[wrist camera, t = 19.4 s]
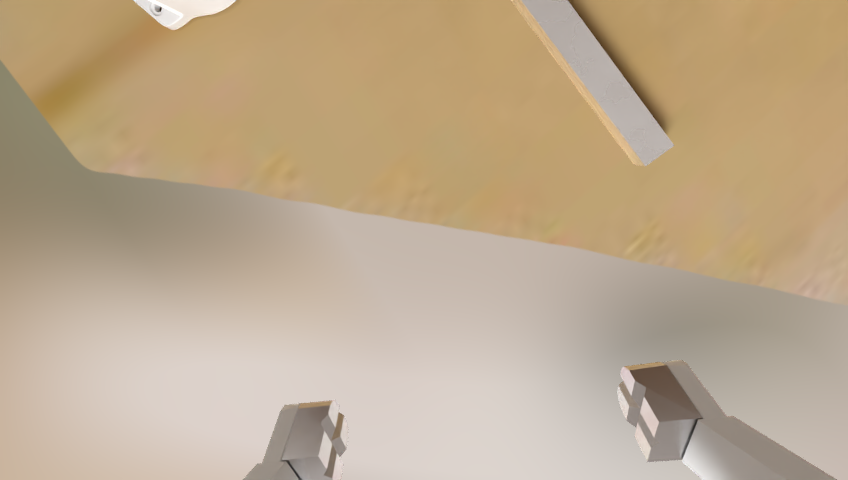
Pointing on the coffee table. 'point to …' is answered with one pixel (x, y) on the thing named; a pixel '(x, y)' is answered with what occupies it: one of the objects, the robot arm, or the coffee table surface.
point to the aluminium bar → (596, 78)
